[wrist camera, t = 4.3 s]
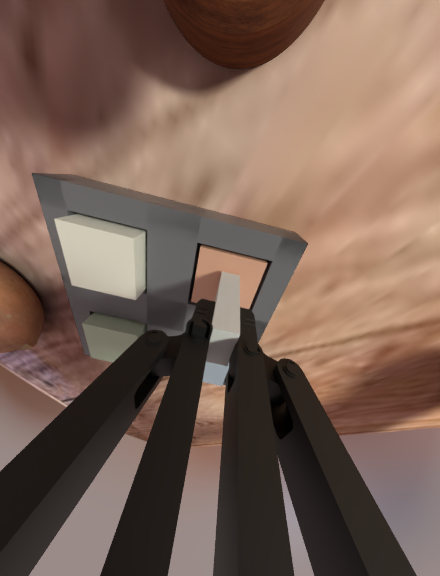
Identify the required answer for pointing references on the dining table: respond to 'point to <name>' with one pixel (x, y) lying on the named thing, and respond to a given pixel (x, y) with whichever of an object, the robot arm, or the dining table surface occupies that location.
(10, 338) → the ceramic jug
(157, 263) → the keypad
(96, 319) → the sage key
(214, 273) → the terracotta key
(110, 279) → the cream key
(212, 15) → the music box
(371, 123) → the dining table surface
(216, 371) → the slate key
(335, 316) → the dining table surface
